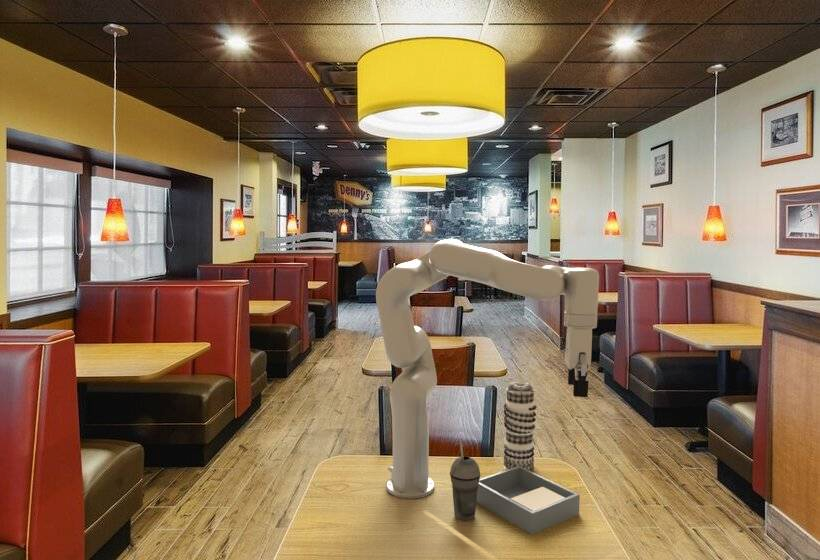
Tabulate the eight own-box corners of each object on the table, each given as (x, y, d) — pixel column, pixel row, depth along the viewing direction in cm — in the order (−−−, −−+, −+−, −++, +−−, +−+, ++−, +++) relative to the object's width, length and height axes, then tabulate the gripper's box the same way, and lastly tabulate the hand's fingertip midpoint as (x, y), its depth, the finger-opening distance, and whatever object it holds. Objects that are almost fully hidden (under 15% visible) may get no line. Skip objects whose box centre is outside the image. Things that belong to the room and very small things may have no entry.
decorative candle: (525, 461, 177) (527, 378, 174) (541, 474, 168) (543, 387, 166) (497, 465, 175) (498, 380, 172) (511, 478, 166) (513, 390, 163)
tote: (473, 503, 151) (473, 481, 151) (518, 487, 160) (519, 465, 160) (531, 539, 135) (532, 513, 134) (578, 518, 144) (579, 494, 143)
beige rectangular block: (510, 514, 144) (510, 498, 144) (542, 501, 150) (542, 486, 150) (535, 528, 137) (535, 512, 137) (567, 515, 144) (567, 499, 143)
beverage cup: (478, 529, 139) (479, 446, 137) (447, 526, 140) (447, 443, 138) (481, 514, 146) (482, 434, 144) (451, 511, 148) (452, 432, 145)
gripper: (560, 313, 151) (557, 379, 153) (568, 326, 134) (565, 400, 136) (590, 314, 150) (587, 381, 152) (603, 327, 133) (599, 402, 135)
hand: (577, 390), depth 144 cm, fingers open, 9 cm apart
